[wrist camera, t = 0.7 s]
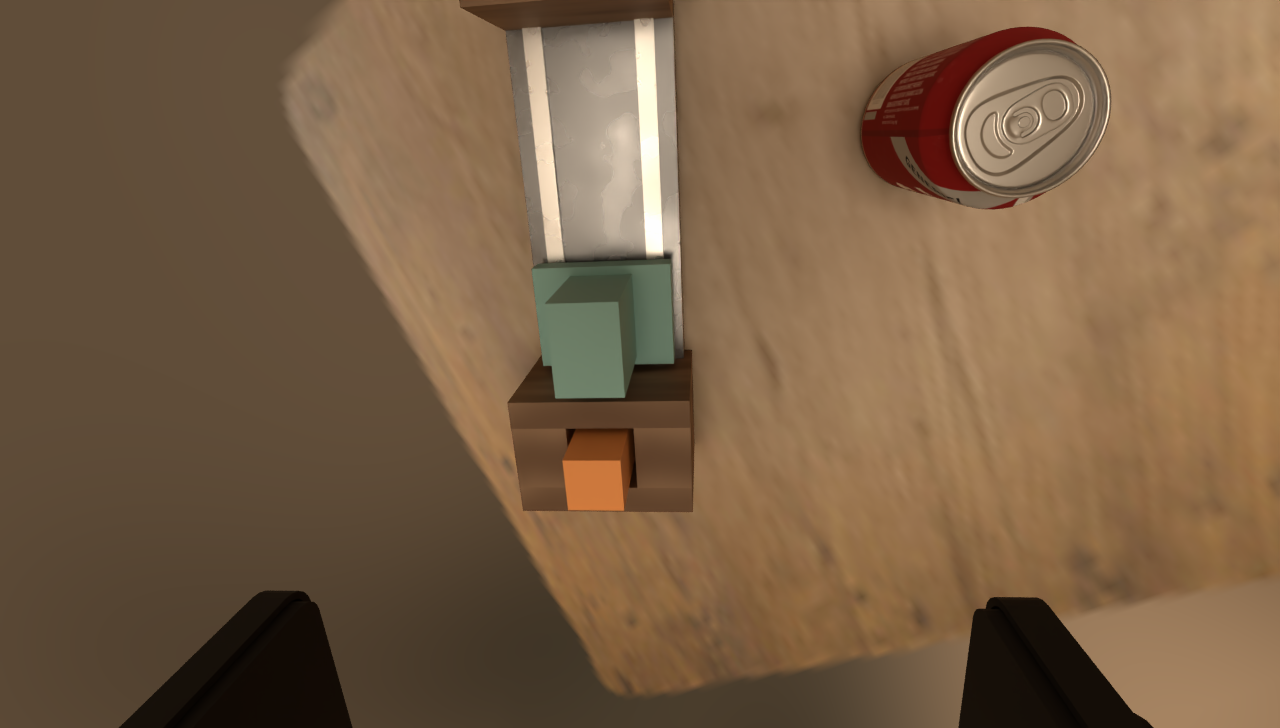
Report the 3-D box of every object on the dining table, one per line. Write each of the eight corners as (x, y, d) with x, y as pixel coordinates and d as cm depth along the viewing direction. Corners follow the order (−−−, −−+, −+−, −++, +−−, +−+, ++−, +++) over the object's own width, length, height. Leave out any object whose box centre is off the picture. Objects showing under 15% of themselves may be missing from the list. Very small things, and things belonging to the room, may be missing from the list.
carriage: (538, 263, 36) (498, 295, 29) (671, 258, 35) (663, 290, 28) (549, 357, 38) (514, 407, 31) (674, 354, 37) (668, 406, 30)
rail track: (508, -7, 33) (498, -14, 31) (672, -21, 32) (671, -29, 30) (550, 353, 40) (543, 362, 39) (684, 350, 39) (683, 360, 38)
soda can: (837, 104, 33) (904, 90, 22) (956, 30, 32) (1096, -26, 20) (887, 210, 35) (974, 247, 24) (1004, 146, 33) (1155, 153, 22)
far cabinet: (543, 353, 40) (507, 402, 33) (691, 350, 39) (689, 400, 32) (554, 445, 43) (523, 510, 36) (694, 444, 42) (692, 512, 34)
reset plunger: (589, 396, 38) (562, 460, 31) (636, 396, 38) (620, 460, 30) (593, 438, 39) (568, 510, 32) (638, 438, 39) (624, 510, 32)
